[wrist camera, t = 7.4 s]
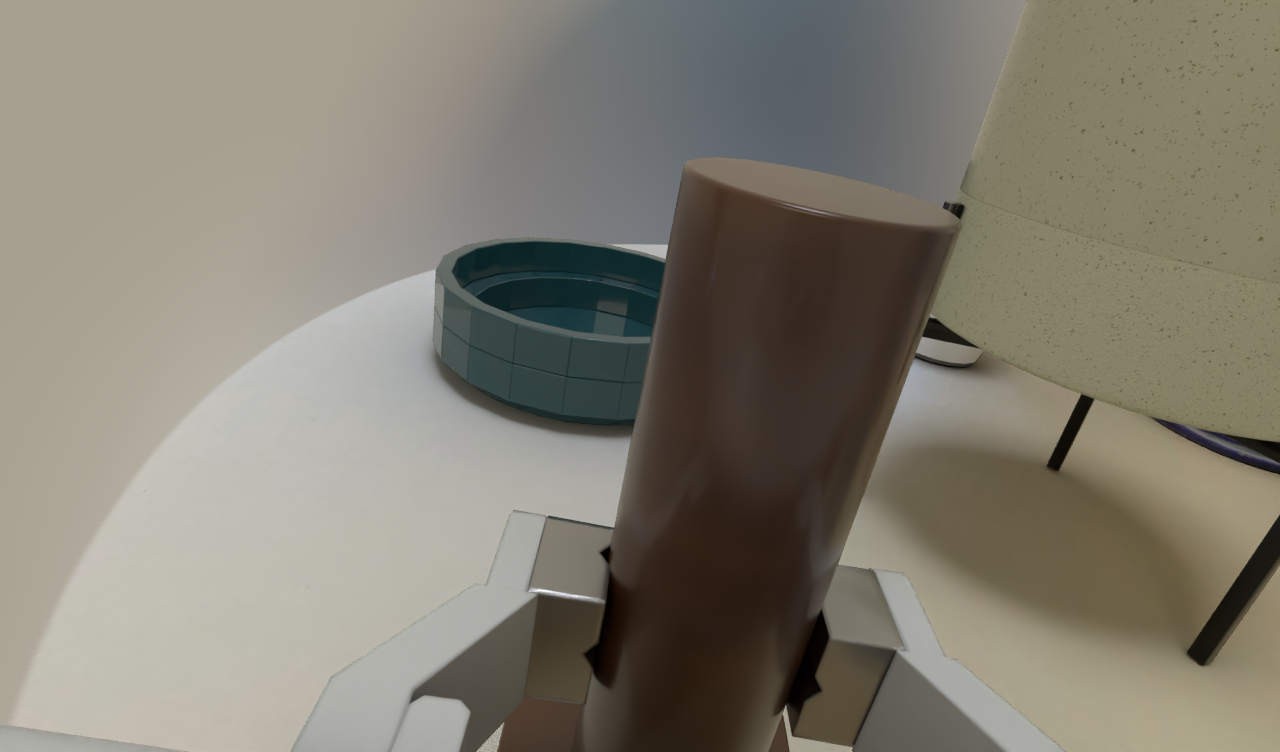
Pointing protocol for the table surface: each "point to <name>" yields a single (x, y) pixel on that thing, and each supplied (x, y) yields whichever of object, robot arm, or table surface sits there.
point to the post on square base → (748, 452)
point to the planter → (1134, 225)
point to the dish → (549, 324)
